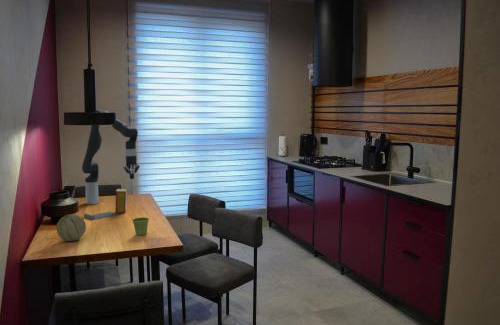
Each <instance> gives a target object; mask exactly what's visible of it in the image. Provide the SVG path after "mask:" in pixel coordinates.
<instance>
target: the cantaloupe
mask: <svg viewBox="0 0 500 325" xmlns="http://www.w3.org/2000/svg"><path fill="white" fill-rule="evenodd" d="M86 229H87V224H86V221H85V219H84V218H83V217H81V216H80V215H78V214H76V213H72V214H71V213H69V214H65V215H64V216H62V217H61V218H60V219H59V221H58V222H57V223H56V233H57V235H58V236H59V238H60V239H61V240H63V241H65V242H74V241H78V240H79V239H81V238H82V237H83V236H84V235H85V233H86Z"/></svg>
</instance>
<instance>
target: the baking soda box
mask: <svg viewBox="0 0 500 325" xmlns="http://www.w3.org/2000/svg"><path fill="white" fill-rule="evenodd" d="M127 193H128V189H127V188H117V189H116V190H115V212H114V213H117V214H126V212H127V198H128V194H127Z"/></svg>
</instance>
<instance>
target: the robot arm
mask: <svg viewBox="0 0 500 325" xmlns="http://www.w3.org/2000/svg"><path fill="white" fill-rule="evenodd" d="M95 111H96V112H97V113H110V112H109V111H107V110H105V109H101V110H100V109H98V110H97V109H96V110H95ZM111 127H112V128H113V129H114V130H116V131H117V132H119V133H120V134H121V135H122V136H123V137H124V138H129V139H128V140H126V141H125V165H124V166H123V167H122V168H123V170H124V171H125V173H127V174H129V179H130V180H134V178H135V173H137V172H138V170H140V167H141V166H140V165H139V164H137V162H138V161H137V158H138V157H137V156H138V155H137V149H136V148H137V145H136V143H137V138H138V134H139V133H138V128H136V127H134V126H133V127H132V126H131V127H129V126H128V125H127V124H126V123H124V122H123V121H120V120H118V119H117V118H116V124H113V125H111ZM102 141H103V140H102V135H101V133H100V124H99V125H90V132H89V137H88V141H87V147H86V152H85V156H84V159H83V162H82V164H81V169H82V172H83V173H84V174H86V175H87V174H89V175H88V176H87V177H85V178H84V183H85V184H84V185H85V186H84V187H85V204H86V205H96V204H99V202H100V201H99V185H98V184H99V182H98V181H99V173H100V172H99V163H98V162H97V161H95V160H93V158H94V157H95V155H96V154H97V153H98V152H99V151H100V149H101V146H102Z"/></svg>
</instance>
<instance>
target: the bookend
mask: <svg viewBox="0 0 500 325" xmlns="http://www.w3.org/2000/svg"><path fill="white" fill-rule="evenodd" d="M113 216H120V213H115V212H113V211H106V212H99V213H95V214H89V213H83V217H84V218H86V219H89V220H93V221H94V220H99V219H103V218H109V217H113Z"/></svg>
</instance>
